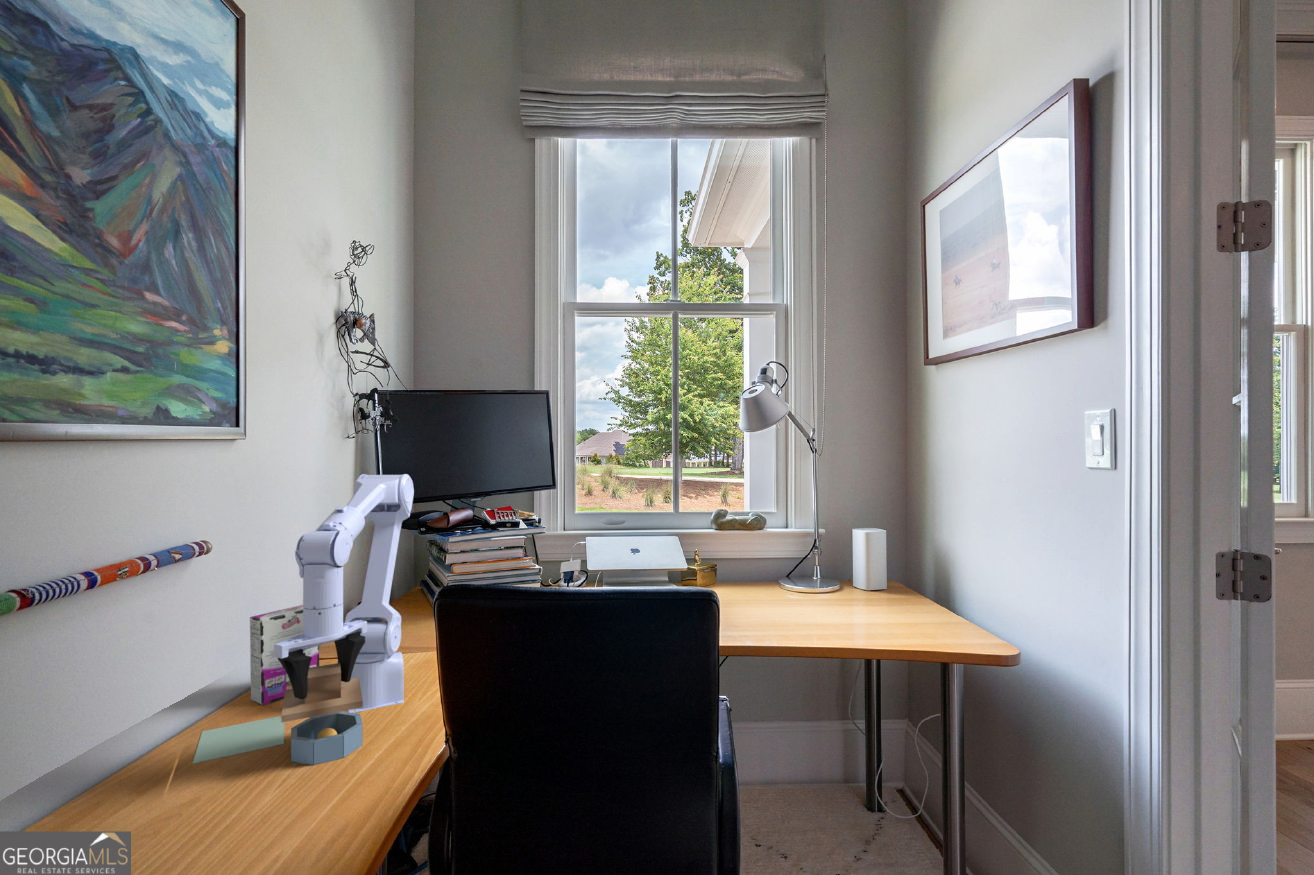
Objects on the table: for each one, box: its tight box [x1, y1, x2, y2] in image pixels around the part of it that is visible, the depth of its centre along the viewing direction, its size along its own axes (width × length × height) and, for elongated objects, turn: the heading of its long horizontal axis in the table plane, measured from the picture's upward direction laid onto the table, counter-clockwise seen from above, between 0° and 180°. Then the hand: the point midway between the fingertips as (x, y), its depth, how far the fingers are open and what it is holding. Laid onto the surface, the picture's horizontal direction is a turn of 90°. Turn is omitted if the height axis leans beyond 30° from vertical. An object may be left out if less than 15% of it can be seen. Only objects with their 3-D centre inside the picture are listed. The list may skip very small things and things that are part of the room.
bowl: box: [290, 711, 363, 766], centre depth 99 cm, size 10×10×4 cm
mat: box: [192, 715, 285, 765], centre depth 102 cm, size 12×12×1 cm
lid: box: [280, 662, 363, 723], centre depth 99 cm, size 11×11×5 cm
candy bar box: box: [249, 604, 320, 706], centre depth 122 cm, size 11×5×16 cm, turn 148°
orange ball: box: [317, 728, 337, 739], centre depth 99 cm, size 3×3×3 cm
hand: (323, 688), depth 99 cm, fingers closed on lid, 7 cm apart
